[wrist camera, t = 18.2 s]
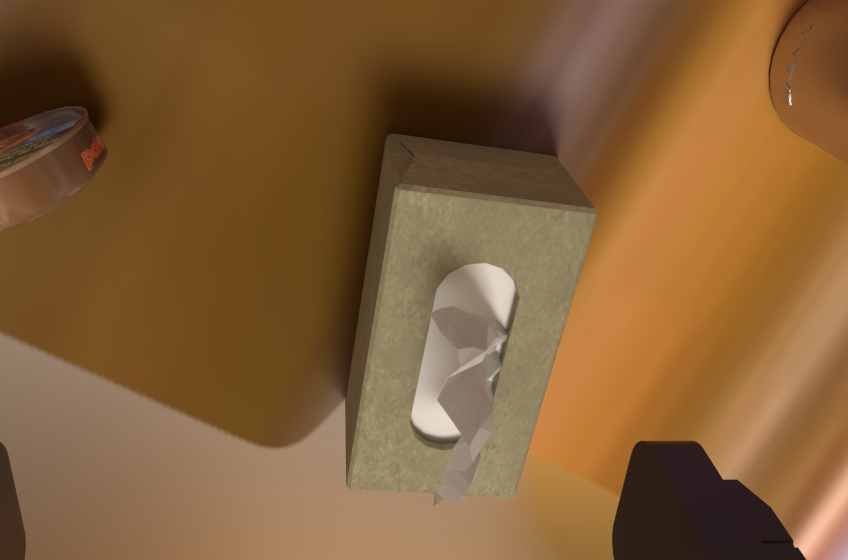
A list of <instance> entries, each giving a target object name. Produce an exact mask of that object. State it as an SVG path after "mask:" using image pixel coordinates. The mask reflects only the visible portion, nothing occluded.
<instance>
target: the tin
mask: <svg viewBox="0 0 848 560" xmlns="http://www.w3.org/2000/svg"><path fill="white" fill-rule="evenodd" d="M106 155H107V149H106V147H105V145H104V143H103V141H102V139H101V138H100V136H99V134H98V133H97V131H96V129H95V128H94V126H93V125H92V123H91V121H90V120H89V118H88V111H87V110H86V109H85V108H83V107H80V106H67V107H61V108H57V109H53V110H49V111H46V112H43V113H40V114H37V115H34V116H31V117H28V118H26V119H23V120H20V121H18V122H15V123H12V124H10V125H7V126H4V127H2V128H0V233H2V232H5V231H8V230H10V229H13V228H15V227H17V226H20V225H22V224H24V223H27V222H29V221H31V220H33V219H35V218H37V217H39V216H41V215H43V214H45V213H46V212H48V211H50V210H52V209H54V208H55V207H57V206H58V205H60V204H62V203H63V202H65V201H67V200H68V199H70V198H71V197H72V196H74V195H75V194H76V193H78V192H79V191H80V190H81V189H83V188H84V187H85V186H86V185H88V183H89V182H90V181H91V180H92V179H93V177H94V176H95V174H96V172H97V171H98V169H99V168H100V167H101V165H102V164H103V162H104V160H105V159H106Z"/></svg>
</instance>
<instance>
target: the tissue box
mask: <svg viewBox="0 0 848 560" xmlns="http://www.w3.org/2000/svg"><path fill="white" fill-rule="evenodd" d="M597 214H598V213H597V211H596V210H595V208H594V207H593V205H592V204H591V203H590V201H589V200H588V199H587V197H586V196H585V195H584V193H583V192H582V191H581V189H580V188H579V187H578V185H577V184H576V183H575V181H574V180H573V179H572V178H571V176H570V175H569V174H568V172H567V171H566V170H565V168H564V167H563V166H562V164H561V163H560V162H559V160H558V159H557V158H556V156H552V155H545V154H538V153H531V152H523V151H516V150H509V149H502V148H494V147H487V146H480V145H473V144H466V143H458V142H451V141H444V140H437V139H429V138H422V137H415V136H408V135H400V134H393V133H390V134H389V135H388V136H386V141H385V147H384V154H383V160H382V167H381V174H380V180H379V187H378V193H377V200H376V206H375V213H374V219H373V226H372V232H371V239H370V245H369V252H368V258H367V265H366V271H365V278H364V284H363V291H362V297H361V304H360V310H359V317H358V323H357V330H356V336H355V343H354V349H353V356H352V362H351V369H350V375H349V382H348V388H347V395H346V401H345V415H346V486H348V487H349V488H350V489H365V490H381V491H397V492H413V493H430V494H435V497H434V504H433V505H436V504H438V503H440V502H442V501H444V500H448V501H453V502H459V503H460V502H461V501H462V499H463V497H464V496H479V497H493V498H510V499H511V498H513V497H514V496H515V494H516V490H517V487H518V483H519V480H520V477H521V473H522V470H523V466H524V463H525V460H526V456H527V453H528V449H529V446H530V443H531V439H532V436H533V432H534V429H535V425H536V422H537V419H538V415H539V412H540V408H541V405H542V402H543V398H544V395H545V391H546V388H547V385H548V381H549V378H550V374H551V371H552V368H553V364H554V361H555V357H556V354H557V350H558V347H559V344H560V340H561V337H562V333H563V330H564V327H565V323H566V320H567V316H568V313H569V310H570V306H571V303H572V299H573V296H574V293H575V289H576V286H577V282H578V279H579V275H580V272H581V269H582V265H583V262H584V258H585V255H586V252H587V248H588V245H589V241H590V238H591V235H592V231H593V228H594V224H595V221H596V217H597Z"/></svg>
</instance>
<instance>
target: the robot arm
mask: <svg viewBox="0 0 848 560" xmlns="http://www.w3.org/2000/svg"><path fill="white" fill-rule="evenodd" d="M770 92H771V96H772V100H773V104H774V108H775V109H776V111H777V113H778V115H779V117H780V118H781V120H782V121H783V122H784V123H785V124H786V125H787V127H788V128H789V129H790V130H791V131H793V132H794V133H796V134H798V135H800V136H801V137H803V138H805V139H806V140H808V141H810V142H811V143H813V144H815V145H816V146H818V147H820V148H821V149H823V150H825V151H827V152H828V153H830V154H832V155H833V156H834V157H836V158H838V159H839V160H841V161H843V162H845V163H846V164H848V0H809V1H808V2H807V3H805V4H804V5H803V6H802V8H801V9H800V10H799V11H798V12H797V14H796V15H795V16H794V17H793V18H792V20H791V21H790V22H789V24H788V26H787V27H786V29H785V31H784V33H783V34H782V36H781V38H780V40H779V43H778V45H777V48H776V50H775V53H774V56H773V60H772V66H771V72H770ZM25 541H26V540H25V531H24V526H23V521H22V517H21V512H20V508H19V503H18V498H17V494H16V489H15V484H14V480H13V475H12V471H11V466H10V461H9V457H8V453H7V450H6V448H5V446H4V445H3V444H2V443H1V442H0V560H24V559H25V549H26V542H25ZM612 545H613V555H614V560H806V559H805V557H804V556H803V554H802V553H801V551H800V550H799V548H795V547H794V545H793V540H792V538H791V537H790V535H789V534H788V532H787V531H786V529H785V528H784V526H783V525H782V523H781V522H780V520H779V519H778V517H777V516H776V514H775V513H774V511H773V510H772V509H771V507H769V506H768V505H767V504H766V503H765V502H763V501H762V500H761V499H760V498H759V497H757V496H756V495H755V494H754V493H753V492H751V491H750V490H749V489H748V488H747V487H745V486H744V485H743V484H742V483H741V482H739V481H738V480H723V479H722V478H721V476H720V474H719V473H718V471H717V470H716V468H715V466H714V465H713V463H712V462H711V460H710V459H709V457H708V455H707V454H706V452H705V451H704V449H703V448H702V446H701V445H700V444H698V443H697V442H695V441H640V442H638V443H637V444H636V445H635V446H634V448H633V451H632V454H631V457H630V461H629V465H628V469H627V473H626V477H625V481H624V485H623V489H622V493H621V497H620V501H619V505H618V509H617V513H616V517H615V521H614V525H613V533H612Z"/></svg>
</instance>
